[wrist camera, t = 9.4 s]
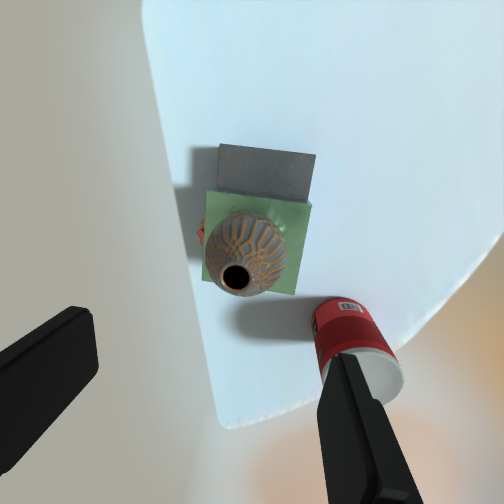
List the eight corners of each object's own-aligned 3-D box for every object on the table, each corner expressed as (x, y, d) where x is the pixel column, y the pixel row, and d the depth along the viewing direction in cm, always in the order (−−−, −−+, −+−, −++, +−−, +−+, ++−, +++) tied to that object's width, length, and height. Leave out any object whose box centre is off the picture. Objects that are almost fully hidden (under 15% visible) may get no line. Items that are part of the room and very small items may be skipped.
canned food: (300, 312, 36) (308, 371, 25) (351, 285, 33) (383, 338, 23) (327, 350, 37) (345, 420, 27) (378, 327, 35) (419, 394, 25)
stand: (220, 145, 30) (199, 138, 22) (311, 156, 29) (322, 152, 21) (213, 254, 34) (193, 279, 27) (291, 266, 33) (294, 295, 26)
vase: (290, 268, 25) (295, 318, 17) (225, 277, 26) (199, 327, 18) (280, 200, 23) (279, 219, 15) (210, 213, 24) (172, 236, 16)
